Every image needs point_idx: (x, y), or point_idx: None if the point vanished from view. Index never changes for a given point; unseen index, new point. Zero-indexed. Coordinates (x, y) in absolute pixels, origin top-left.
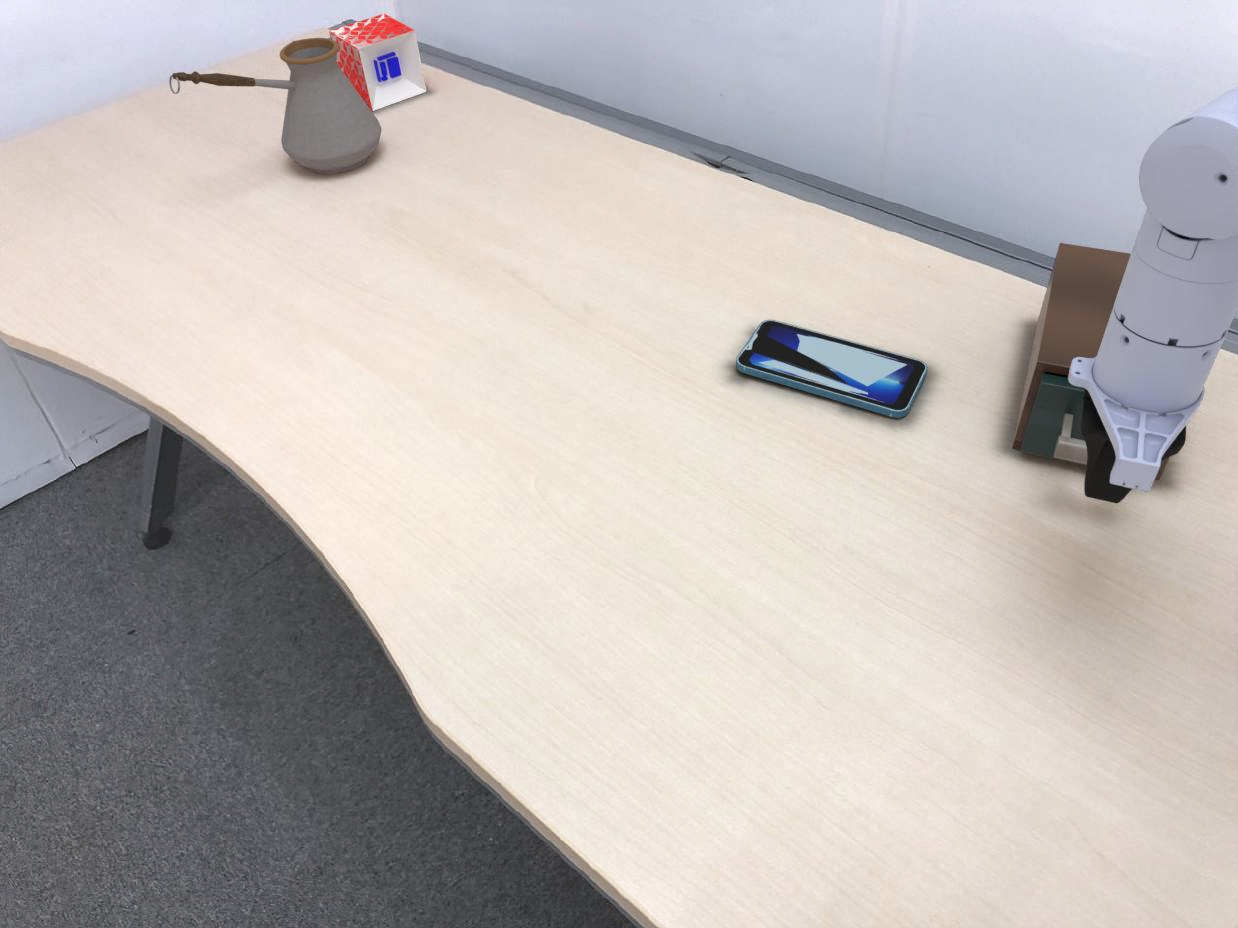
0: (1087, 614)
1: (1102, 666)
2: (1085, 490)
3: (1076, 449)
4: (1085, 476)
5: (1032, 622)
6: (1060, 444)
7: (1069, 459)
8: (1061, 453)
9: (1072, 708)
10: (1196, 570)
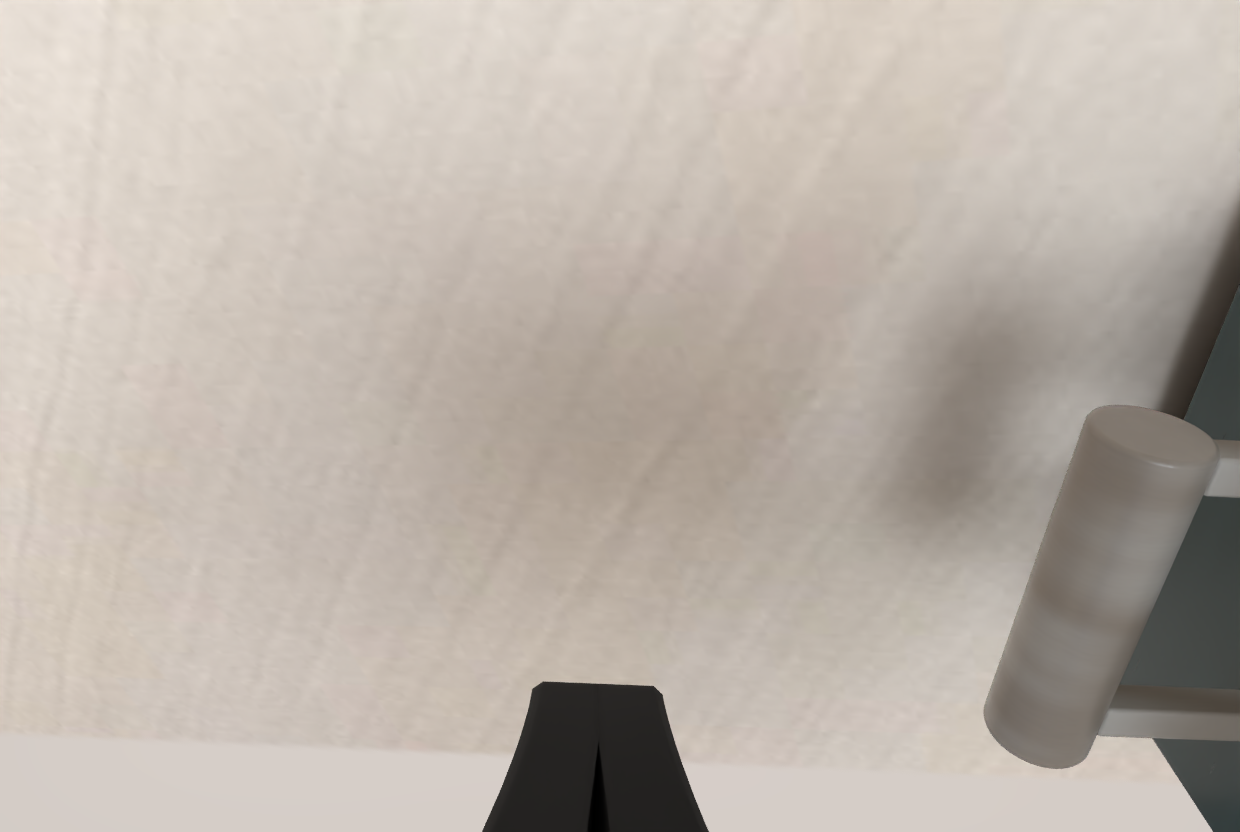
0: (451, 454)
1: (256, 495)
2: (528, 711)
3: (1101, 533)
4: (509, 792)
5: (341, 293)
6: (1137, 468)
7: (1063, 482)
8: (1088, 459)
9: (45, 422)
10: (732, 705)
